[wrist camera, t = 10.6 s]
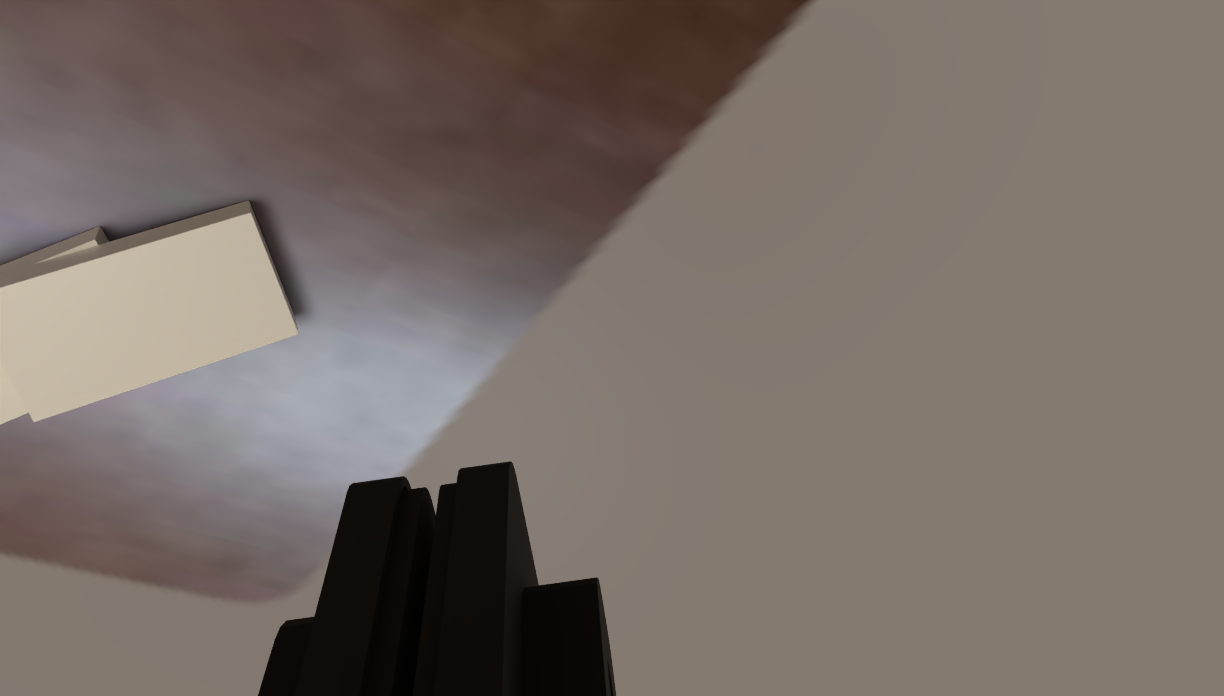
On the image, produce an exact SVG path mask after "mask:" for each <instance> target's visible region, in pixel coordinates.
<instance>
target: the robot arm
mask: <svg viewBox="0 0 1224 696" xmlns="http://www.w3.org/2000/svg"><path fill="white" fill-rule="evenodd" d="M258 696H616V691H615V683H614V674H613V667H612V659H611V651H610V644H609V638H608V631H607V625H606V619H605V612H604V606H603V600H602V594H601V589H600V584H599V579H598V578H590V579H583V580H576V581H568V582H561V583H555V584H547V585H538V580H537V575H536V570H535V565H534V560H533V555H532V551H531V546H530V541H529V536H528V532H527V527H526V521H525V516H524V512H523V507H522V502H521V497H520V492H519V487H518V482H517V477H516V474H515V469H514V466H513V463H512V462H504V463H497V464H489V465H482V466H475V467H468V468H461V469H460V470H459V472H458V476H457V483H453V484H445V485H441V487H440V490H439V496H438V504H437V512H436V515H435V511H434V507H433V503H432V499H431V496H430V494H429V491H428V489H427V488H425V487H424V488H417V489H411V487H410V484H409V482H408V480H407V478H405V477H404V476H402V477H395V478H388V479H380V480H373V481H366V482H359V483H353V484H351V485H350V486H349V489H348V491H347V494H346V498H345V502H344V506H343V510H342V514H341V517H340V521H339V525H338V529H337V533H336V536H335V540H334V544H333V548H332V552H331V556H330V559H329V563H328V567H327V571H326V575H325V579H324V582H323V586H322V590H321V594H320V597H319V601H318V605H317V609H316V613H315V617H310V618H302V619H294V620H288V621H286V622H285V623H284V624H283V625H282V626H281V627H280V629H279V631H278V634H277V636H276V638H275V641H274V644H273V647H272V651H271V654H270V657H269V661H268V664H267V667H266V671H265V674H264V677H263V681H262V684H261V687H260V691H259V694H258Z"/></svg>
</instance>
